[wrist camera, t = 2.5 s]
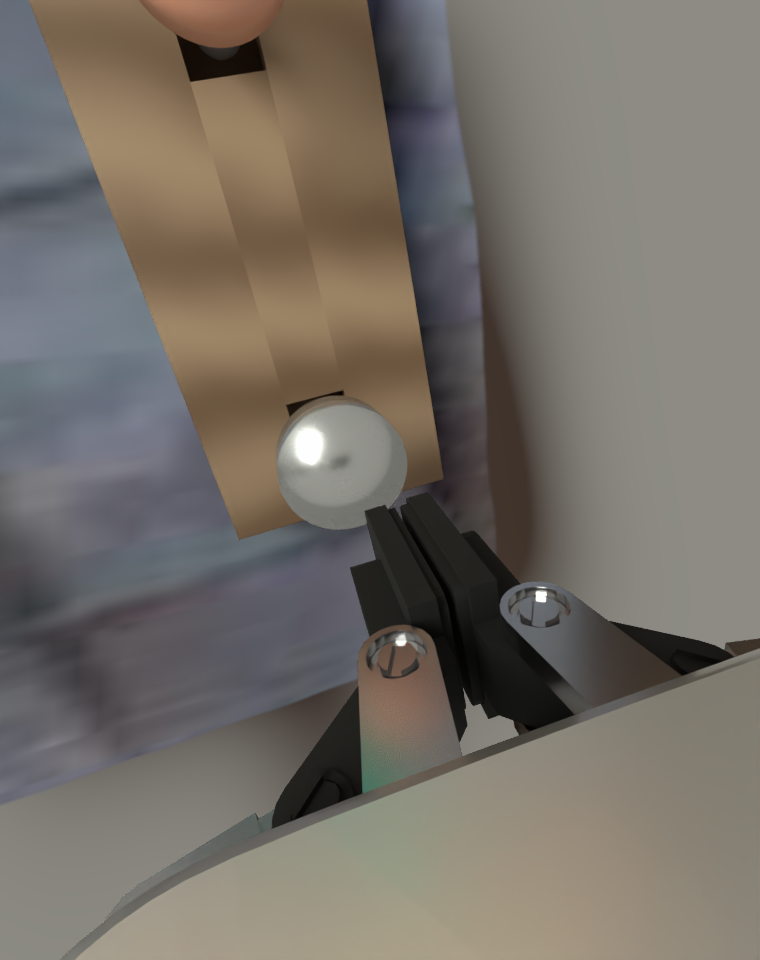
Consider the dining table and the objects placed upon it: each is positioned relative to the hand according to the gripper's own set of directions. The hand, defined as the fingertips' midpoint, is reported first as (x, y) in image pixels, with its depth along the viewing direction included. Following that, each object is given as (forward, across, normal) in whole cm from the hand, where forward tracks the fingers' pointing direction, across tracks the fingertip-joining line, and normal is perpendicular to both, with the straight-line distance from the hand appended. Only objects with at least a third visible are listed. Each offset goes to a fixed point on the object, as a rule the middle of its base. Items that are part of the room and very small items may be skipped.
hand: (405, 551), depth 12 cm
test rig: (+18, +1, -8) cm, 20 cm away
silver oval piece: (+14, +1, 0) cm, 14 cm away
